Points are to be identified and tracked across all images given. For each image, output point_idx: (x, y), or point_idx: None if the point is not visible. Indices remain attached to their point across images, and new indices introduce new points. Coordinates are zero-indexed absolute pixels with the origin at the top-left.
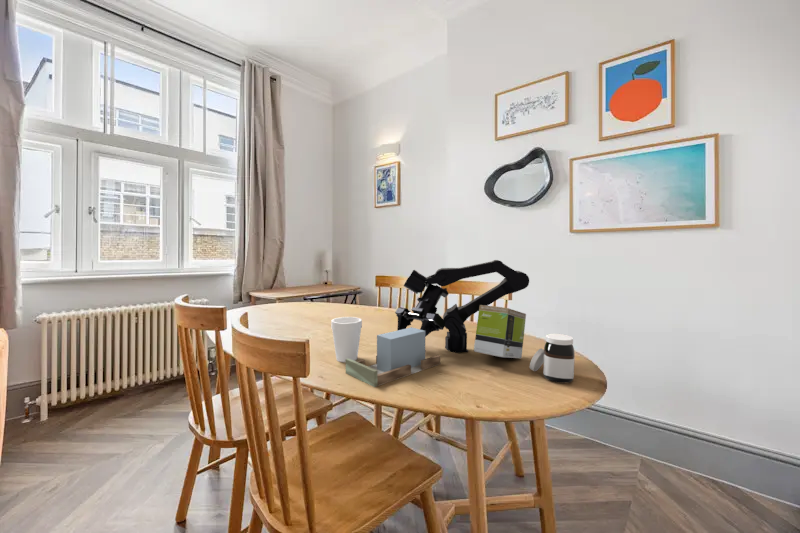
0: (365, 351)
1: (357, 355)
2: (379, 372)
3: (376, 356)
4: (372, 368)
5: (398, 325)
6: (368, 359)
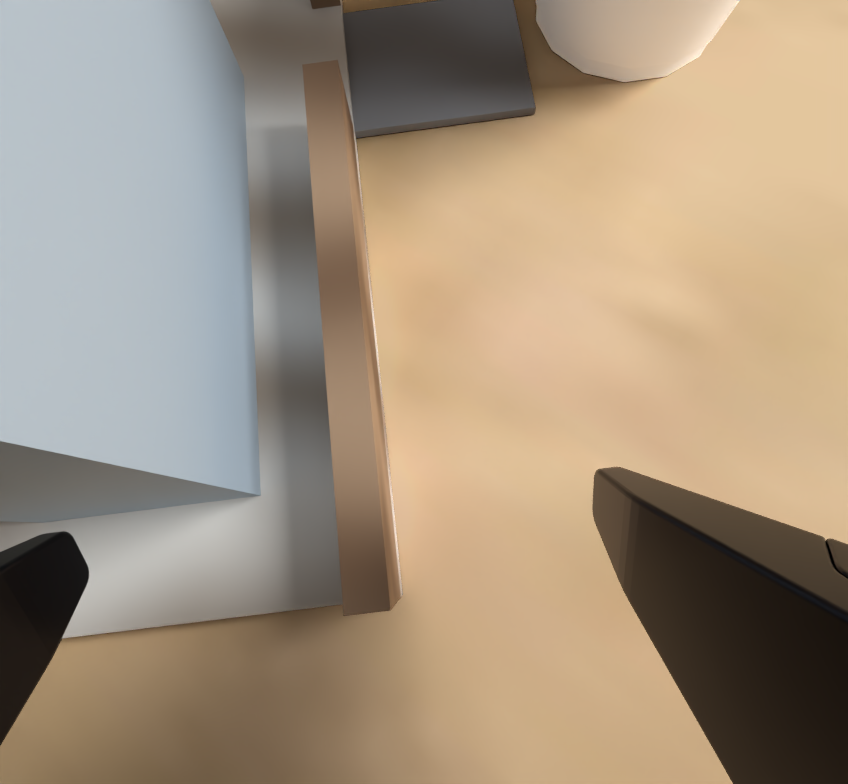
0: (819, 252)
1: (586, 28)
2: None
3: (331, 64)
4: (279, 55)
5: (800, 546)
6: (554, 163)
